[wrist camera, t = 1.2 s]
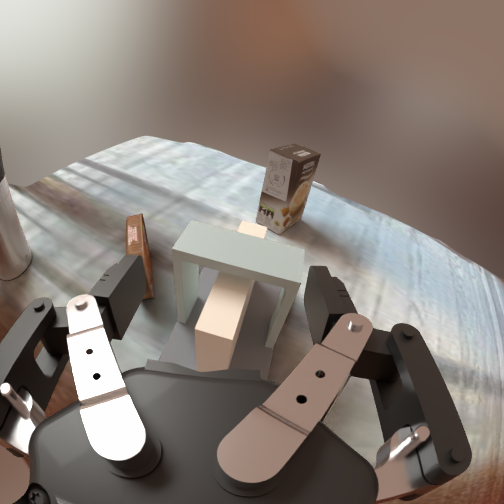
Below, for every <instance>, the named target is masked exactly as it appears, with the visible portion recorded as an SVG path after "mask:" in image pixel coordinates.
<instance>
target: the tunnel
mask: <svg viewBox="0 0 504 504" xmlns="http://www.w3.org/2000/svg"><path fill="white" fill-rule="evenodd" d="M304 253H305V249H301V248H298V247H294V246H290V245H286V244H283V243H279V242H275V241H271V240H267V239H263V238H259V237H256V236H252V235H248V234H244V233H240V232H236V231H232V230H228V229H224V228H220V227H216V226H212V225H208V224H204V223H200V222H196V221H192V220H191V222H190V223H189V225H188V226H187V227H186V229H185V230H184V232H183V233H182V235H181V236H180V238H179V239H178V240H177V242H176V243H175V245H174V246H173V248H172V256H173V271H174V283H175V294H176V304H177V314H178V322H181V323H184V324H186V322H187V319H188V317H189V315H190V313H191V311H192V308H193V306H194V304H195V302H196V300H197V298H198V270H199V265H200V266H204V267H207V268H211V269H214V270H218V271H222V272H225V273H229V274H233V275H236V276H240V277H244V278H247V279H251V280H255V281H259V282H262V283H266V284H270V285H274V286H278V287H282V289H281V292H280V294H279V297H278V300H277V303H276V306H275V308H274V311H273V314H272V317H271V321H270V326H269V331H268V335H267V339H266V344H265V347H268V348H273V346H274V344H275V342H276V340H277V338H278V335H279V333H280V331H281V329H282V327H283V324H284V322H285V320H286V317H287V315H288V313H289V311H290V308H291V306H292V304H293V301H294V299H295V297H296V294H297V292H298V289H299V287H300V285H301V280H302V271H303V263H304Z"/></svg>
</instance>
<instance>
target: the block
mask: <svg viewBox="0 0 504 504" xmlns="http://www.w3.org/2000/svg"><path fill="white" fill-rule="evenodd" d="M267 228H268V227H265V226H261V225H257V224H253V223H249V222H246V221H242V222H241V224H240V226H239V228H238V231H237V232H240V233H244V234H248V235H252V236H256V237H259V238H263V239H265V236H266V232H267ZM254 282H255V280H251V279H247V278H244V277H240V276H236V275H233V274H229V273H225V272H222V271H219V273H218V276H217V278H216V280H215V282H214V285H213V287H212V289H211V292H210V294H209V296H208V299H207V301H206V303H205V306H204V308H203V310H202V313H201V315H200V317H199V320H198V322H197V324H196V327H195V349H196V368H197V371H199V372H209V371H217V370H226V369H229V365H230V362H231V359H232V356H233V352H234V349H235V346H236V342H237V339H238V336H239V332H240V329H241V326H242V323H243V319H244V316H245V313H246V309H247V306H248V302H249V299H250V296H251V292H252V289H253V286H254Z"/></svg>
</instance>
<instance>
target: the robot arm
mask: <svg viewBox="0 0 504 504" xmlns="http://www.w3.org/2000/svg"><path fill="white" fill-rule="evenodd" d="M31 259H32V252H31V250H30V247H29V245H28V243H27V240H26V238H25V235H24V232H23V230H22V227H21V224H20V222H19V219H18V216H17V213H16V210H15V207H14V204H13V201H12V198H11V194H10V191H9V188H8V184H7V180H6V176H5V172H4V168H3V163H2V156H1V149H0V278H1V279H2V280H11V279H14V278H16V277H17V276H19V275H20V274H22V273H23V272H24V271H25V270H26V268H27V267H28V266H29V264H30V262H31ZM145 293H146V278H145V272H144V265H143V259H142V257H141V256H140V255H128V254H127V255H125V256H124V257H123V259H122V260H121V261H120V262H119V264H117V263H116V264H115V265H113V266H112V267H110V268H109V269H108V270H107V271H106V272H105V273H104V276H102V277H101V278H100V281H98V282H97V283H96V284H95V286H94V287H93V288H92V289H91V291H90V292H89V293H88V295H79V296H76V297H74V298H73V299H71V300H70V301H69V302H68V304H67V307H57V308H54V306H53V303H52V301H51V300H50V299H49V298H39V299H36V300H34V301H33V302H32V303H30V305H29V306H28V307H27V308H26V309H25V311H24V312H23V313H22V315H21V316H20V317H19V318H18V320H17V321H16V322H15V324H14V325H13V326H12V328H11V329H10V331H9V332H8V333H7V335H6V336H5V338H4V339H3V340H2V342H1V343H0V445H1V446H2V447H4V448H6V449H7V450H8V451H9V452H11V453H12V454H13V455H15V456H17V457H24V456H26V457H28V458H29V462H30V481H29V487H28V489H27V491H26V493H25V494H24V495H23V496H22V497H21V498H20V499H19V500H18V501H16V502H15V503H13V504H379V503H383V502H387V501H390V500H394V499H398V498H399V499H400V500H403V501H411V500H414V499H416V498H418V497H420V496H422V495H424V494H426V493H428V492H430V491H432V490H434V489H436V488H437V487H439V486H441V485H443V484H445V483H446V482H448V481H450V480H451V479H453V478H455V477H456V476H458V475H460V474H461V473H463V472H464V471H465V470H466V469H467V468H468V467H469V465H470V462H471V458H472V452H471V448H470V445H469V442H468V439H467V436H466V433H465V431H464V428H463V425H462V423H461V420H460V417H459V415H458V412H457V410H456V407H455V405H454V402H453V400H452V398H451V395H450V393H449V391H448V389H447V386H446V384H445V382H444V380H443V378H442V375H441V373H440V371H439V369H438V367H437V365H436V363H435V361H434V359H433V357H432V355H431V353H430V351H429V349H428V347H427V345H426V343H425V341H424V339H423V338H422V336H421V334H420V332H419V331H418V330H417V329H416V328H415V327H413V326H411V325H409V324H405V323H399V324H396V325H394V326H393V328H392V330H391V332H388V331H383V330H378V329H374V328H373V326H372V323H371V322H370V321H369V319H367V318H366V317H364V316H362V315H360V314H358V313H357V311H356V308H355V306H354V304H353V302H352V300H351V298H350V297H349V294H348V292H347V290H346V288H345V286H344V283H343V282H341V281H340V280H339V279H338V278H337V277H331V275H330V273H329V271H328V268H327V267H326V266H310V268H309V273H308V278H307V283H306V288H305V294H304V306H305V311H306V315H307V319H308V323H309V327H310V332H311V336H312V340H313V345H314V346H313V347H312V349H311V350H310V351H309V352H308V353H307V355H306V356H305V357H304V358H303V360H302V361H301V362H300V363H299V364H298V365H297V367H296V368H295V369H294V370H293V371H292V373H291V374H290V375H289V376H288V377H287V378H286V379H285V381H284V382H283V383H282V384H281V385H278V384H276V383H274V382H272V381H269V380H266V379H262V378H261V375H260V370H247V369H226V370H217V371H209V372H199V371H196V370H193V369H190V368H187V367H184V366H181V365H178V364H175V363H169V362H162V361H156V360H149V359H148V360H147V363H146V366H145V367H141V368H135V369H131V370H128V371H125V372H123V373H122V372H121V370H120V367H119V365H118V362H117V360H116V357H115V354H114V352H113V349H112V346H111V344H110V342H111V340H112V339H117V340H122V338H123V336H124V334H125V332H126V330H127V328H128V326H129V324H130V322H131V320H132V318H133V316H134V315H135V313H136V311H137V309H138V307H139V305H140V303H141V301H142V299H143V298H144V296H145ZM40 340H41V342H42V344H43V346H44V347H43V349H42V350H41V352H40V354H39V355H38V357H37V359H36V361H35V359H34V349H35V347H36V345H37V344H38V342H39V341H40ZM69 358H70V359H71V364H72V369H73V374H74V378H75V382H76V387H77V391H78V395H79V398H80V399H79V400H77V401H75V402H74V403H72V404H70V405H69V406H67V407H65V408H64V409H62V410H60V411H59V412H57V413H55V414H54V415H52V416H50V417H48V418H47V419H45V413H44V412H45V410H46V407H47V405H48V402H49V400H50V398H51V395H52V393H53V391H54V389H55V387H56V384H57V382H58V380H59V378H60V376H61V374H62V372H63V370H64V368H65V366H66V363H67V361H68V360H69ZM351 376H354V377H359V378H365V379H369V381H370V385H371V388H372V392H373V396H374V400H375V404H376V408H377V412H378V416H379V420H380V424H381V429H382V433H383V438H384V442H385V443H384V444H383V445H382V446H381V447H380V448H379V450H378V452H377V457H376V460H377V463H376V467H375V469H374V468H373V467H372V466H371V464H370V463H369V462H368V461H367V460H366V459H365V458H363V457H362V456H361V455H360V454H358V453H357V452H356V451H355V450H354V449H352V448H351V447H350V446H349V445H348V444H346V443H345V442H344V441H343V440H342V439H341V438H339V437H338V436H337V435H336V434H335V433H334V432H332V431H331V430H330V429H329V428H328V427H327V426H326V425H324V424H323V421H324V420H325V418H326V417H327V415H328V414H329V412H330V410H331V409H332V407H333V405H334V404H335V402H336V401H337V399H338V397H339V396H340V394H341V392H342V391H343V389H344V387H345V386H346V384H347V382H348V381H349V379H350V377H351Z"/></svg>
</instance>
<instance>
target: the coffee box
mask: <svg viewBox="0 0 504 504" xmlns="http://www.w3.org/2000/svg"><path fill="white" fill-rule="evenodd" d="M319 158H320V154H319V153H317V152H315V151H312V150H310V149H307V148H305V147H301V146H299V145H297V144H292V145H287V146H283V147H279V148H275V149H271V150H270V154H269V159H268V164H267V168H266V173H265V178H264V182H263V187H262V192H261V197H260V202H259V207H258V212H257V217H256V222H258V223H259V224H261V225H263V226H265V227H268V229H270V230H271V231H273V232H275V233H277V234H281V233H282V232H284V231H285V230H287V229H288V228H289V227H291V226H292V225H294V224H295V223H296V222H298V221H299V220H301V218H302V214H303V211H304V208H305V205H306V202H307V198H308V195H309V192H310V189H311V185H312V182H313V179H314V175H315V172H316V168H317V165H318V162H319Z"/></svg>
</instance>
